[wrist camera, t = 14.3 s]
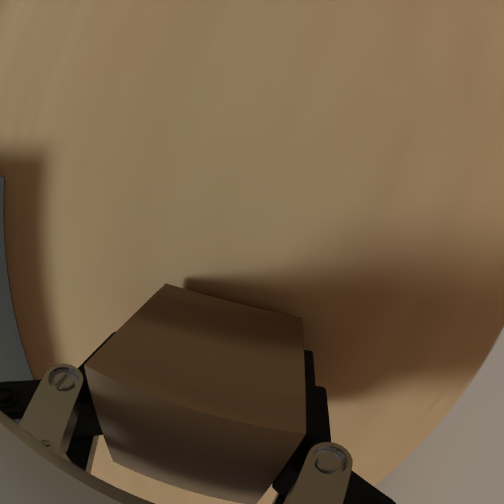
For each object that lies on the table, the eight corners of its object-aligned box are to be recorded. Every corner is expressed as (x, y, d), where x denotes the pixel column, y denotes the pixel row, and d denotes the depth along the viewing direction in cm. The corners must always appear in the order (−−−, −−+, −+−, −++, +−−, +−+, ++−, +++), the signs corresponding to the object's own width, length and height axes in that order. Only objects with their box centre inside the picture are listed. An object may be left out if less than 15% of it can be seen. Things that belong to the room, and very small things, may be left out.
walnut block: (165, 283, 10) (83, 365, 5) (302, 317, 9) (306, 433, 5) (161, 379, 11) (113, 461, 7) (268, 408, 11) (254, 505, 6)
